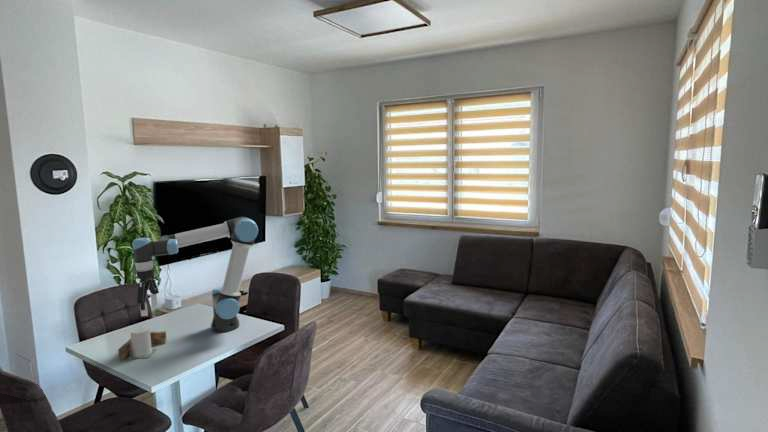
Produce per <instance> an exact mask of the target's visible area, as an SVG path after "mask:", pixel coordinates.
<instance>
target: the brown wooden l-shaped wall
mask: <svg viewBox="0 0 768 432" xmlns="http://www.w3.org/2000/svg"><path fill="white" fill-rule="evenodd" d="M166 331H167V330H163V331H150V336H151V346H152V345H162V344H164V345H165V344H166V343H168V342H167V341H168V340H167V332H166ZM117 351H118V359H119V361H118V362H125V361H126V360H127V358H128V357H129V356H130V355H131V354H132V353H133V352H132V341H131V338H130V339H128V340H127V341H126V342H125V343H124V344H123V345H121V346H120V347H119V348H118V350H117Z"/></svg>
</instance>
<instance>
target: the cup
mask: <svg viewBox="0 0 768 432" xmlns="http://www.w3.org/2000/svg"><path fill="white" fill-rule="evenodd" d="M150 332H151V328H150V327H149V326H141V327H136V328H134V329H132V330H130V339H131V341H132V352H133V357H143V356H147V355H149V354H151V353H152V349H153V348H152V345H151V336H150Z"/></svg>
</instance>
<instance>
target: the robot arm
mask: <svg viewBox="0 0 768 432" xmlns="http://www.w3.org/2000/svg"><path fill="white" fill-rule="evenodd" d="M258 234H259V227H258V225H257V223H256V222H255V221H254V220H253V219H251V218H249V217H246V216H239V217H236V218H232V219H228V220H225V221H224V222H223V223H219V224H215V225H211V226H205V227H200V228H196V229H191V230H188V231H182V232H178V233H175V234H170V235H162V236H160V237H159V238H158V239H157V240H153V241H152V240H151V238H150V237H138V238H136V239H133V241H132V251H133V257H134V266H135V271H136V272H135V273H136V279H139V280H140V282H137V298H136V299H137V300H136V303H137V304H138V305H139V309H140V310H139V311H140V316H141V317H148V316H149V314H148V313H149V312H148V305H147V302H146V300H147V295H148V291H149V292H150V293H151V294H150V302H151V307H152V308H154V307H155V308H156V307H159V302H158V299H159V298H158V294H159V292H160V291H159V288H158V286H157V282H156V280H155V269H154V260H153V257H159V256H160V257H162V256H167V255H168V256H170V255H174V254H175V255H177V254H178V253H179V248H184V247H188V246H190V245H191V246H192V245H196V244H201V243H204V242H209V241H210V242H211V241H215V240H218V239H223V238H226V237H227V238H229V239H230V238H231V239H230V242H231V243H232V247H231V252H230V254H229V255H230V256H229V259H228V265H227V268H226V272H225V277H224V280H223V285H222V286H221V287H217V288H214V289H212V290H211V296H212V310H213V311H212V312H213V317H212V320H211V324H210V330H211V331H212V332H215V333H226V332H230V331H234V330H236V329H238V328H239V327H240V320H239V317H238V314H239V312H240V300H241V296H242V293H241V291H240V288H241V284H242V281H243V276H244V272H245V269H246V264H247V259H248V255H249V251H250V248H252V247H253V246H254V243H255V240H256V238H257V236H258Z"/></svg>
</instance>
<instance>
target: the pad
mask: <svg viewBox="0 0 768 432" xmlns="http://www.w3.org/2000/svg"><path fill="white" fill-rule="evenodd" d="M157 350H158V348H152V353H151V354H149V355H147V356H143V357H133V353H132V354H131V355H130V356H129V357H128V358H127V359H126V360H141V359H149V358H150V357H151V356H152V355H153V354H154V353H155V352H156V351H157Z"/></svg>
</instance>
